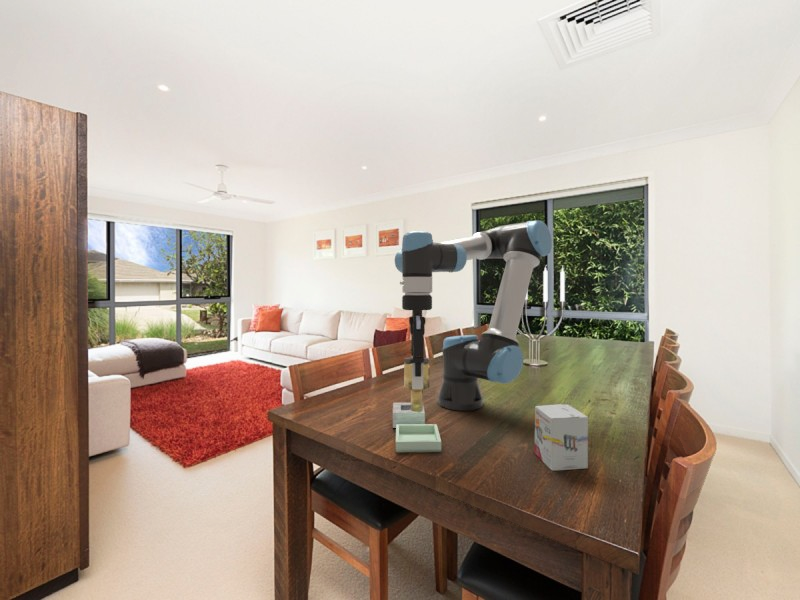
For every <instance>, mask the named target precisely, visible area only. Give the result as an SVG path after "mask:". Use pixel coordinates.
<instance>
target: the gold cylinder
mask: <svg viewBox="0 0 800 600" xmlns="http://www.w3.org/2000/svg"><path fill="white" fill-rule="evenodd" d="M410 360H413V358H411V357H404V362H403V364H404V365H403V369H404V371H403V380H404V381H403V386H404V388H405V389H407V390H410V403H411V411H414V412H420V411H422V410H423V406H424V403H423V401H424V399H423V395H424V394H423V391H424V390H427V389H429V388H430V358H429V357H424V362H423V389H412V363H410Z"/></svg>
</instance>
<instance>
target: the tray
mask: <svg viewBox="0 0 800 600" xmlns="http://www.w3.org/2000/svg"><path fill="white" fill-rule="evenodd" d="M395 453H442V439H441V435H440V432H439V428H438V424H437V423H425V424H396V429H395Z"/></svg>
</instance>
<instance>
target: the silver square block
mask: <svg viewBox="0 0 800 600" xmlns="http://www.w3.org/2000/svg"><path fill="white" fill-rule="evenodd" d="M396 424H426V412H425V407H424V405H423V410H422V411H420V412H414V411H411V402H393V403H392V429H393V428H396Z"/></svg>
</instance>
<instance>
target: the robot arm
mask: <svg viewBox="0 0 800 600" xmlns="http://www.w3.org/2000/svg"><path fill="white" fill-rule="evenodd" d="M552 241H553V240H552V236H551V231H550V229H549V227H548V226H547V224H546V223H545V222H543V221H541V220H528V221H523V222H517V223H511V224H504V225H499V226H496V227H492V228H490V229H487V230H483V231H480V232H479V231H478V232H476V233H473V235H472V236H467V237H462V238H456V239H452V240H446V241H440V242H434V240H433V235H432V233H431V232H428V231H409V232H405V234H403V236H402V242H401V249H399V250H398V251H397V252H396V254H395V256H394V265H395V268H396V270H398V272H400V273H401V274H402V280H400V281H399V284H400V286H402V288H401V289H402V293H403V294H404V295H402V298H401V301H402V302H401V308H402V309H403V311H411V316H409V317H408V323H409V324H408V325H409V331H410V332H409V334H410V336H411V338H410V339H411V341H410V343H411V345H410V346H411V348H410V352H411V353H410V354H411V357H410V358H413V360H410V363H412V389H423V362H424V358H425V357H424V355H425V354H424V353H425V352H424V351H425V348H424V347H425V346H424V337H425V330H426V329H425V325H426V317H425V316H423V311H431V310H432V309H433V296H432V295H431V293H433V273H447V272H448V273H456V272H460V271H462V270H463V269H464V268H465V267H466V265H467V261H471V260H475V259H476V260H480V261H482V260H483V261H484V260H486V259H488V260H489V259H503V260H504V261H505V262H506V263H505V267H504V271H503V273H502V278H501V281H500V284H499V288H498V292H497V296H496V300H495V302H494V303H495V304H494V307H493V311H492V314H491V318H490V323H489V324H488V329H487V330H485V331H483V332H482V333H481V336H480V338H479V337H478V335H476V334H466V335H463V334H462V335H454V336H449V337H448V336H447V337H445V338H444V339H443V343H442V345H443V346H442V382H441V385H440V387H439V391H438V393H437V394H438V395H437V405H439V406H440V405H441V406H440V407H442V406H443V407H442V408H444V407H445V409H448V410H453V411H462V412H463V411H465V412H466V411H474V410H478V409H480V408H482V407H483V406H484V398H483V394H482V390H481V388H480V385H479V379H482V380H485V381H490V382H491V383H496V384H497V383H499V384H505V385H507V384H510V383H512V382H513V381H514V380H515V379H517V378H518V376H519V375H520V373H521V372H522V369H523V366H524V353H523V350H522V349H521V348H520V347H519V346H520V342H519V340H518V338H517V333H518V329H519V325H520V322H521V317H522V313H523V309H524V305H525V302H526V297H527V293H528V290H529V285H530V281H531V278H532V273H533V270H534V269H535V268H536V267H538V266H539V265H540V263H541V259H542V257H546V256H548V255H549V254H550V253H551V251H552V245H553V242H552ZM479 339H480V340H479Z"/></svg>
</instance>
